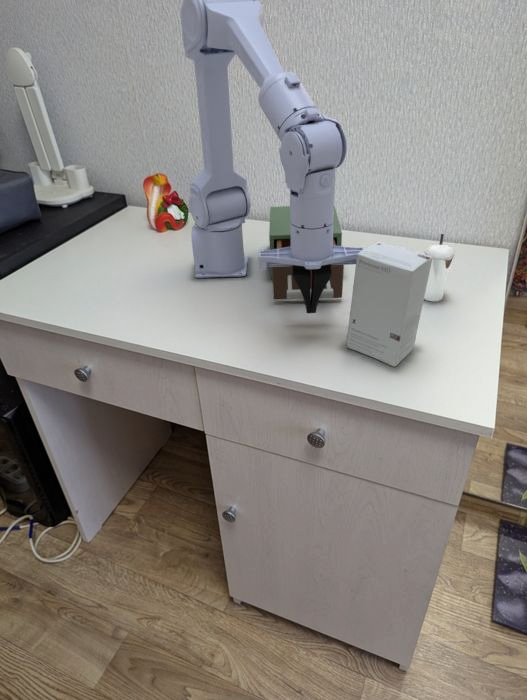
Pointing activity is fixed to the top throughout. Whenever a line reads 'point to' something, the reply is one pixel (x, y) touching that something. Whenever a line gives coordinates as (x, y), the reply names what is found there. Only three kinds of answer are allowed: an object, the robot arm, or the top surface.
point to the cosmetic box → (387, 301)
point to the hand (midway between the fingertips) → (310, 309)
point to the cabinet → (282, 227)
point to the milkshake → (438, 269)
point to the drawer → (289, 289)
